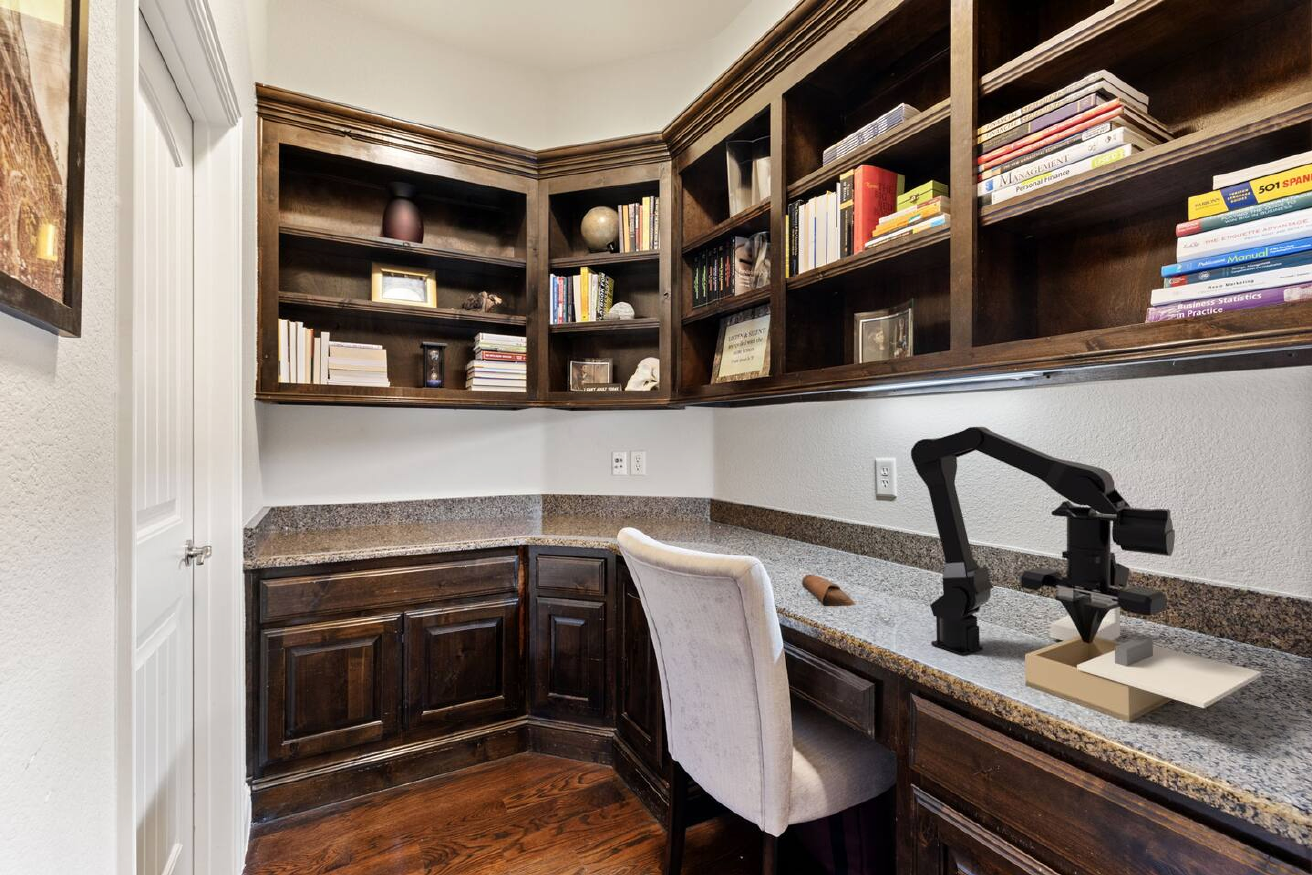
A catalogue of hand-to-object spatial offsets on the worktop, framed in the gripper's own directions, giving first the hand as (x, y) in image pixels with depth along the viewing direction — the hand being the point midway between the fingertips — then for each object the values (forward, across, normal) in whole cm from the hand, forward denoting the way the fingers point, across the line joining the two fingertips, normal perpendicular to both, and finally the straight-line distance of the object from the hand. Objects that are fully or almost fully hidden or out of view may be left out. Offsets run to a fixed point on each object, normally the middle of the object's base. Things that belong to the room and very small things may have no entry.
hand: (1087, 642), depth 96 cm
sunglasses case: (+8, +58, -1) cm, 59 cm away
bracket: (+7, +10, -21) cm, 24 cm away
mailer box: (+6, -3, +1) cm, 7 cm away
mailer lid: (+1, -11, +1) cm, 11 cm away
